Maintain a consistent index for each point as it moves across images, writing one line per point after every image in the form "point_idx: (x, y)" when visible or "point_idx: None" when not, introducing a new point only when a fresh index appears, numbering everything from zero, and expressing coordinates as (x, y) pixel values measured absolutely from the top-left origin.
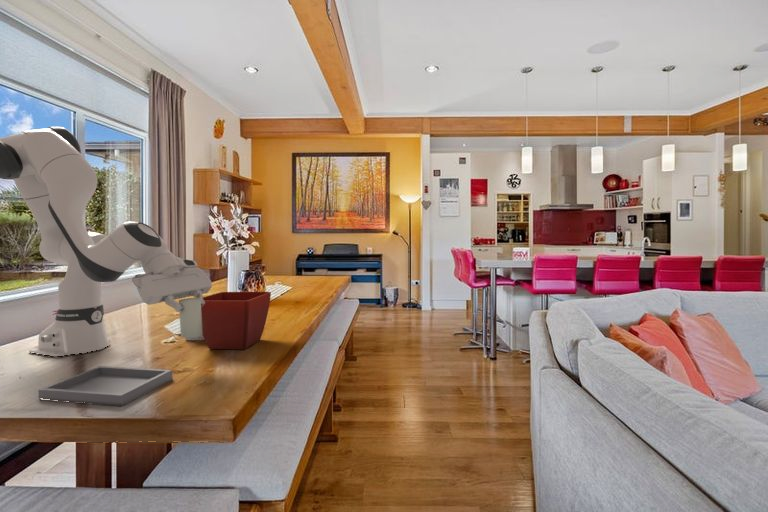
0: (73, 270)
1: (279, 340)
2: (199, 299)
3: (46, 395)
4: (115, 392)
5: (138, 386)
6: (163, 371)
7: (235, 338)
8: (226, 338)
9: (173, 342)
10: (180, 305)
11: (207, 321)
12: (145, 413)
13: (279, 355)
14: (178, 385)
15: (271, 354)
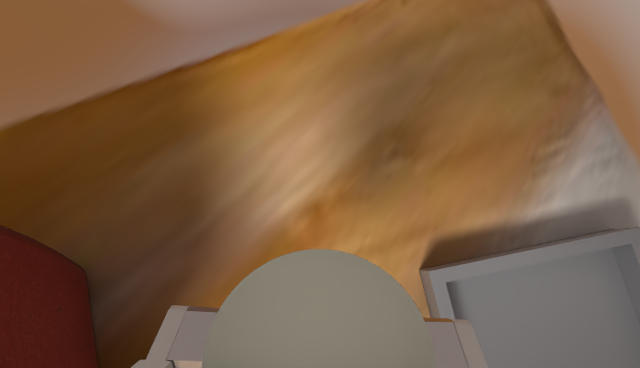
0: None
1: None
2: (271, 267)
3: None
4: (583, 330)
5: (574, 243)
6: (447, 293)
7: (65, 296)
8: (71, 343)
9: None
10: (452, 339)
11: None
12: (602, 134)
13: (113, 99)
14: (445, 208)
15: (109, 132)
